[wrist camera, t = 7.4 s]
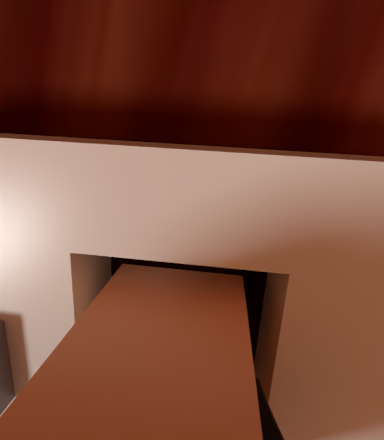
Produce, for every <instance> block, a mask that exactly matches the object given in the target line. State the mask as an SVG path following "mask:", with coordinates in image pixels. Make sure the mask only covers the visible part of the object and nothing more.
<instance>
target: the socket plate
mask: <svg viewBox="0 0 384 440" xmlns="http://www.w3.org/2000/svg"><path fill="white" fill-rule="evenodd" d="M111 257H118V258H129V259H139V260H149V261H159V262H169V263H180V264H190V265H200V266H210V267H220V268H231V269H241V270H251V271H261V272H267V277H266V284H265V291H264V298H263V305H262V313H261V320H260V327H259V334H258V341H257V348H256V355H255V362H254V372H255V377H257V378H258V379H259V380H260V383H261V386H262V389H263V391H264V394H265V397H266V399H267V402H268V404H269V406H270V409H271V411H272V413H273V416H274V418H275V420H276V423H277V425H278V427H279V429H280V431H281V433H282V436H283V438H284V440H384V157H381V156H365V155H349V154H333V153H316V152H300V151H284V150H268V149H251V148H235V147H219V146H203V145H186V144H170V143H154V142H138V141H121V140H105V139H89V138H73V137H57V136H40V135H24V134H8V133H0V417H1V415H2V414H3V413H4V412H5V410H6V409H7V408H8V407H9V405H10V404H11V403H12V402H13V400H14V399H15V398H16V397H17V395H18V394H19V393H20V392H21V390H22V389H23V388H24V387H25V385H26V384H27V383H28V382H29V380H30V379H31V378H32V376H33V375H34V374H35V373H36V371H37V370H38V369H39V368H40V366H41V365H42V364H43V363H44V361H45V360H46V359H47V358H48V356H49V355H50V354H51V353H52V351H53V350H54V349H55V348H56V346H57V345H58V344H59V343H60V341H61V340H62V339H63V338H64V336H65V335H66V334H67V333H68V331H69V330H70V329H71V328H72V326H73V325H74V324H75V323H76V321H77V320H78V319H79V318H80V316H81V315H82V314H83V313H84V311H85V310H86V309H87V308H88V306H89V305H90V304H91V303H92V301H93V300H94V299H95V298H96V296H97V295H98V294H99V293H100V291H101V290H102V289H103V288H104V286H105V285H106V284H107V283H108V281H109V280H110V279H111V277H112V273H111Z"/></svg>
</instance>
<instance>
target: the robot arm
mask: <svg viewBox="0 0 384 440" xmlns="http://www.w3.org/2000/svg"><path fill="white" fill-rule="evenodd" d="M255 380H256V388H257V396H258V405H259V413H260V421H261V429H262V437H263V440H284V438H283V436H282V433H281V431H280V429H279V427H278V425H277V423H276V420H275V418H274V416H273V413H272V411H271V409H270V406H269V404H268V402H267V399H266V397H265V394H264V391H263V389H262V386H261V383H260V380H259V379H258V378H257V377H255Z"/></svg>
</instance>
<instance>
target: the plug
mask: <svg viewBox="0 0 384 440" xmlns="http://www.w3.org/2000/svg"><path fill="white" fill-rule="evenodd" d="M0 440H263V437H262V429H261V421H260V413H259V405H258V396H257V388H256V380H255V372H254V364H253V356H252V347H251V339H250V331H249V323H248V315H247V306H246V298H245V290H244V282H243V276H240V275H230V274H220V273H210V272H200V271H190V270H180V269H170V268H160V267H150V266H140V265H130V264H122V265H121V266H120V267H119V269H118V270H117V271H116V272H115V274H114V275H113V276H112V277H111V279H110V280H109V281H108V283H107V284H106V285H105V286H104V288H103V289H102V290H101V291H100V293H99V294H98V295H97V296H96V298H95V299H94V300H93V301H92V303H91V304H90V305H89V306H88V308H87V309H86V310H85V311H84V313H83V314H82V315H81V316H80V318H79V319H78V320H77V321H76V323H75V324H74V325H73V326H72V328H71V329H70V330H69V331H68V333H67V334H66V335H65V336H64V338H63V339H62V340H61V341H60V343H59V344H58V345H57V346H56V348H55V349H54V350H53V351H52V353H51V354H50V355H49V356H48V358H47V359H46V360H45V361H44V363H43V364H42V365H41V366H40V368H39V369H38V370H37V371H36V373H35V374H34V375H33V376H32V378H31V379H30V380H29V382H28V383H27V384H26V385H25V387H24V388H23V389H22V390H21V392H20V393H19V394H18V395H17V397H16V398H15V399H14V400H13V402H12V403H11V404H10V405H9V407H8V408H7V409H6V410H5V412H4V413H3V414H2V415H1V417H0Z"/></svg>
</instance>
